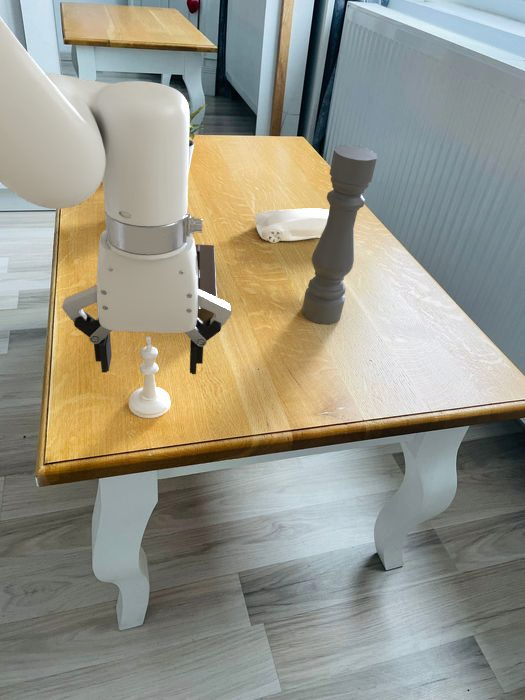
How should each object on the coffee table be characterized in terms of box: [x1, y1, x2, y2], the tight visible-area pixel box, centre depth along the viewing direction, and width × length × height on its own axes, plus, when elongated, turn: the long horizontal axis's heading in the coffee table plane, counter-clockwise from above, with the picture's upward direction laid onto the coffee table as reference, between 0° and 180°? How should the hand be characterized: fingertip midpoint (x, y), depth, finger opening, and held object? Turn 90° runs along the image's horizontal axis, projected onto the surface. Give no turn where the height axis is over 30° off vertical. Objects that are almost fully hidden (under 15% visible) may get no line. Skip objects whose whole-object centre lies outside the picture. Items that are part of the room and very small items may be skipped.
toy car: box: [254, 207, 329, 244], centre depth 106 cm, size 18×8×4 cm, turn 102°
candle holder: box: [301, 144, 378, 325], centre depth 79 cm, size 6×6×25 cm
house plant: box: [182, 94, 210, 173], centre depth 121 cm, size 14×14×16 cm
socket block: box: [195, 243, 218, 323], centre depth 86 cm, size 11×19×3 cm, turn 5°
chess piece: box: [128, 335, 171, 419], centre depth 63 cm, size 5×5×10 cm
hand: (150, 365), depth 63 cm, fingers open, 9 cm apart
